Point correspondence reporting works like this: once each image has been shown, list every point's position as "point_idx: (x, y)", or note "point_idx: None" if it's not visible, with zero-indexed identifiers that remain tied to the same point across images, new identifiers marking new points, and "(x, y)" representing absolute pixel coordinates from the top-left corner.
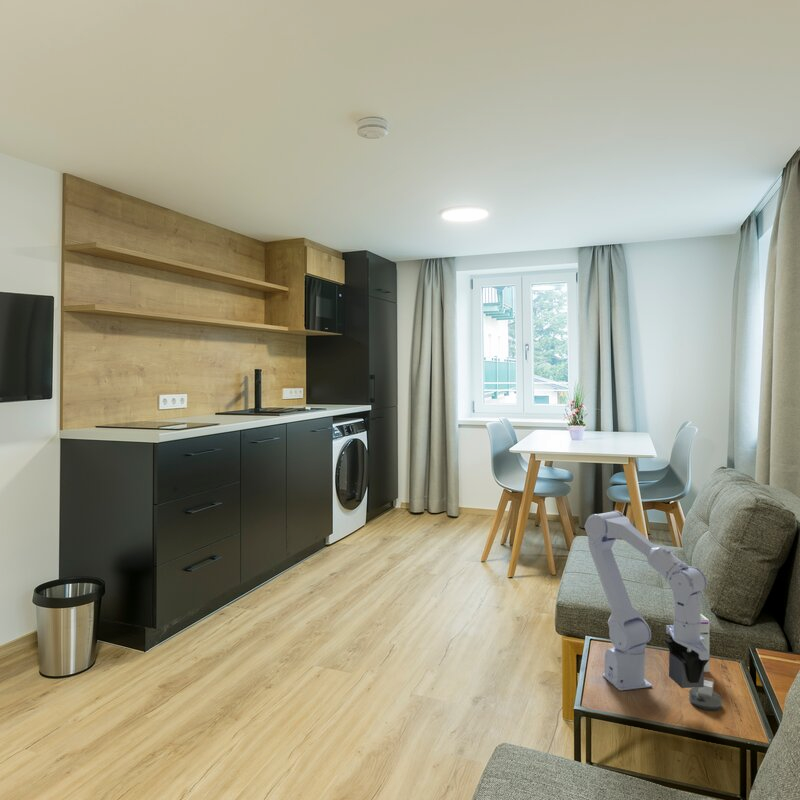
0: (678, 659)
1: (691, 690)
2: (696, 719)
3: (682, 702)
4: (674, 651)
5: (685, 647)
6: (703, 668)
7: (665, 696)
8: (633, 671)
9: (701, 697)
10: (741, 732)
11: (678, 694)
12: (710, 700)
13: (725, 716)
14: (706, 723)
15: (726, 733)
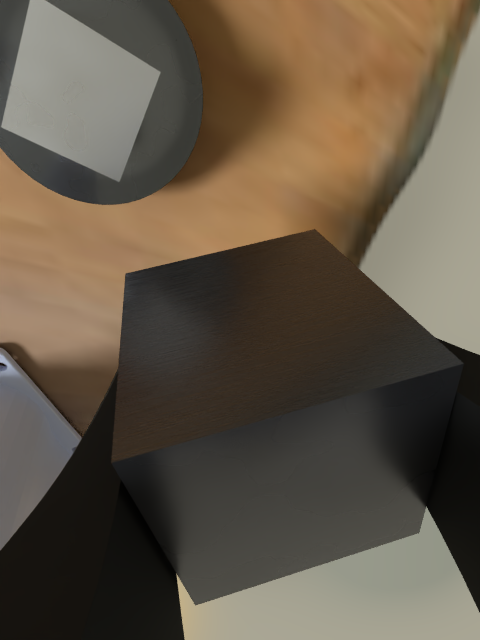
0: (354, 552)
1: (50, 177)
2: (281, 220)
3: (126, 235)
4: (169, 581)
5: (123, 570)
6: (404, 315)
7: (83, 302)
8: (32, 484)
9: (139, 143)
10: (406, 9)
11: (33, 229)
12: (170, 89)
13: (248, 20)
14: (314, 183)
15: (398, 115)
